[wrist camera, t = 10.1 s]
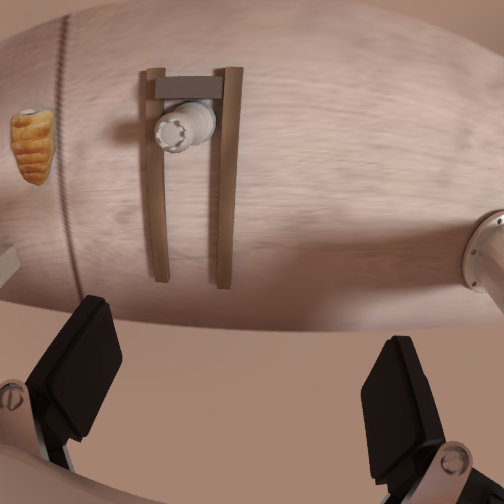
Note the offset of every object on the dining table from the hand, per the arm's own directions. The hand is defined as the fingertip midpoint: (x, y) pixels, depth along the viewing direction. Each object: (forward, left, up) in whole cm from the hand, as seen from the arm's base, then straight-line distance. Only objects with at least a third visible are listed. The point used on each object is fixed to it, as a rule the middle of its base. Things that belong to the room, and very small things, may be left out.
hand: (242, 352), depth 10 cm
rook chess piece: (+7, -4, -24) cm, 25 cm away
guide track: (+7, +2, -24) cm, 25 cm away
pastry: (+26, -3, -24) cm, 36 cm away
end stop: (+7, -8, -24) cm, 26 cm away
